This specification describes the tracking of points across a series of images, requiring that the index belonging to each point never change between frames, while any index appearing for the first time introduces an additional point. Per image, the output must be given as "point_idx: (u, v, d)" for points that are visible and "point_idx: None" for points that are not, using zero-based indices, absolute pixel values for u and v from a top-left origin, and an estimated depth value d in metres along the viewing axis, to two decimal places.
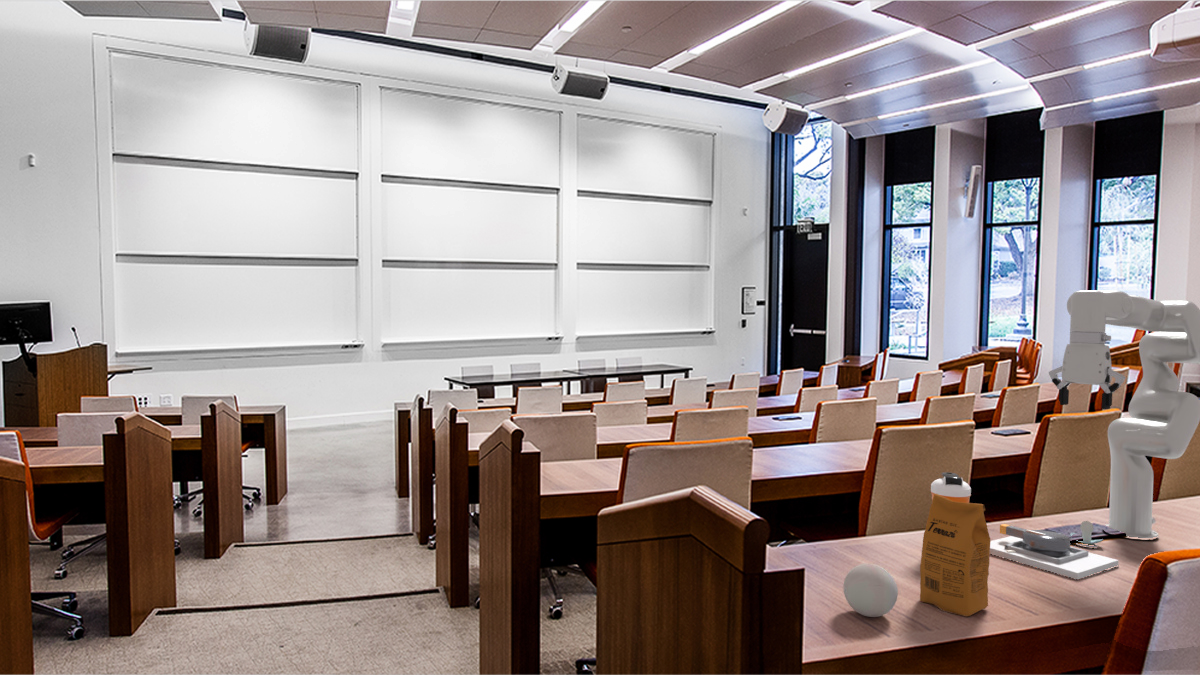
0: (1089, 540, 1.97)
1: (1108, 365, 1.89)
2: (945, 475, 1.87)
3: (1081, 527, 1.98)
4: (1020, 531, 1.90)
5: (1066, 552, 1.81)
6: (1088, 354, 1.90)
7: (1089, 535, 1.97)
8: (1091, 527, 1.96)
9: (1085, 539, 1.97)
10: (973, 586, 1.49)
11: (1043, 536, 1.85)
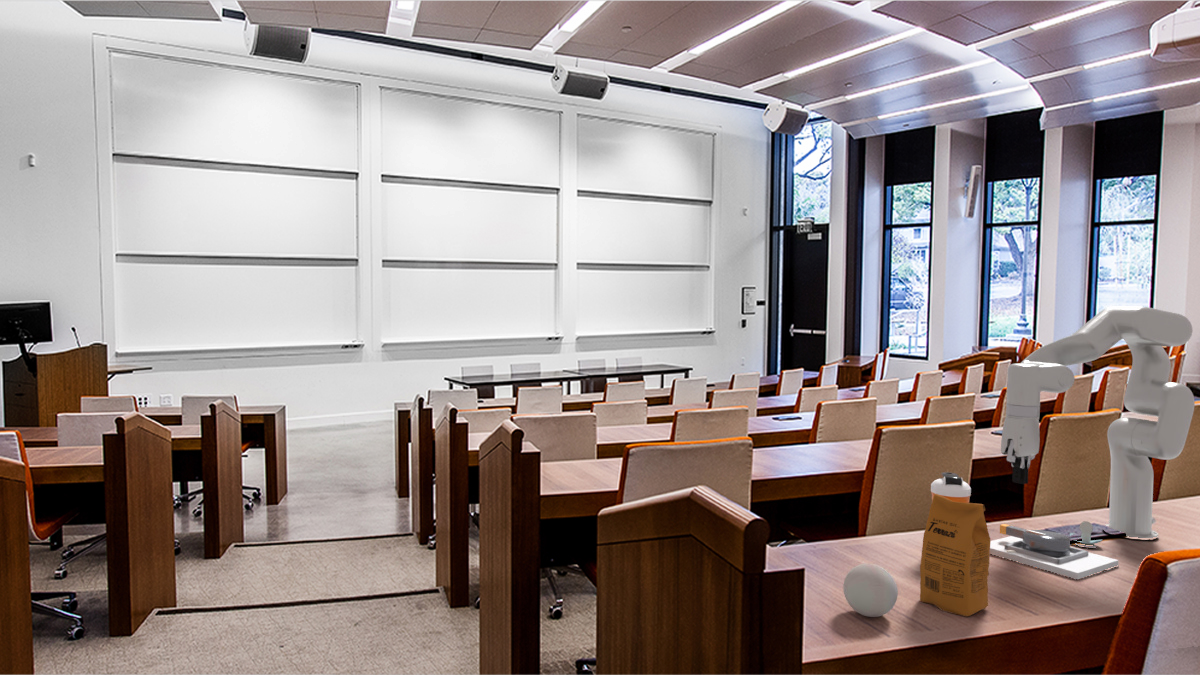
0: (1088, 540, 1.96)
1: None
2: (945, 475, 1.87)
3: (1080, 527, 1.98)
4: (1020, 531, 1.90)
5: (1066, 552, 1.81)
6: (1034, 427, 1.94)
7: (1088, 535, 1.96)
8: (1090, 527, 1.96)
9: (1084, 539, 1.97)
10: (973, 586, 1.49)
11: (1043, 536, 1.85)
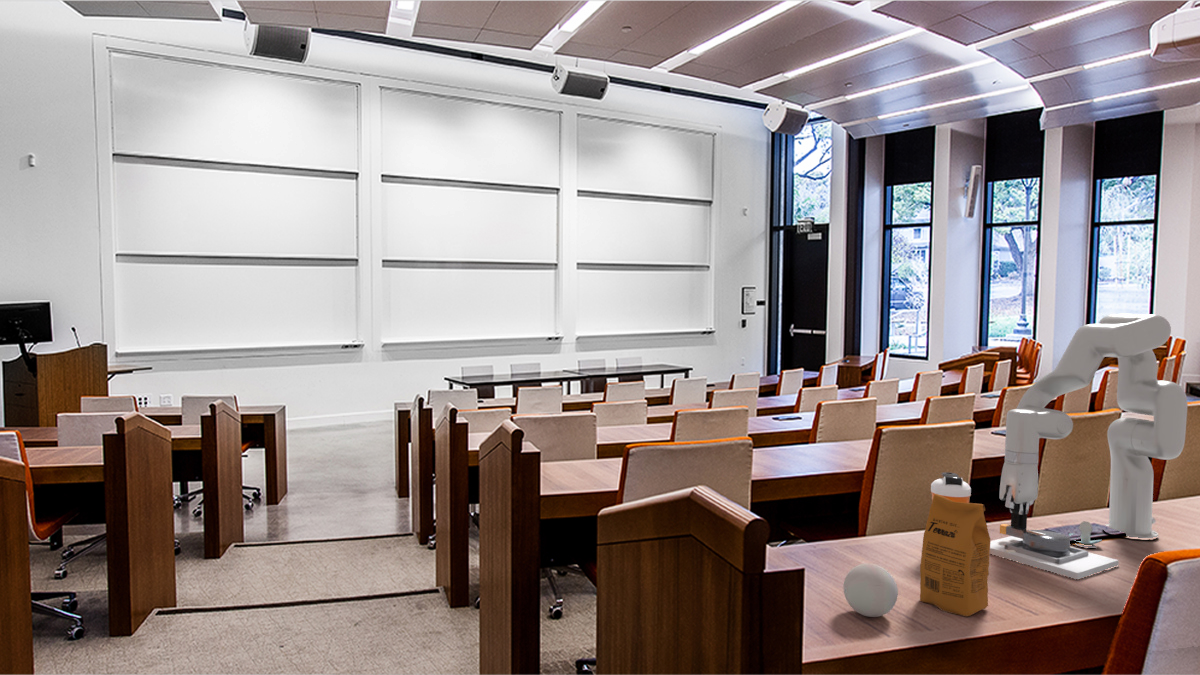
0: (1088, 540, 1.96)
1: None
2: (945, 475, 1.87)
3: (1080, 527, 1.98)
4: (1020, 531, 1.90)
5: (1066, 552, 1.81)
6: (1033, 473, 1.95)
7: (1088, 535, 1.96)
8: (1090, 527, 1.96)
9: (1084, 539, 1.97)
10: (973, 586, 1.49)
11: (1043, 536, 1.85)
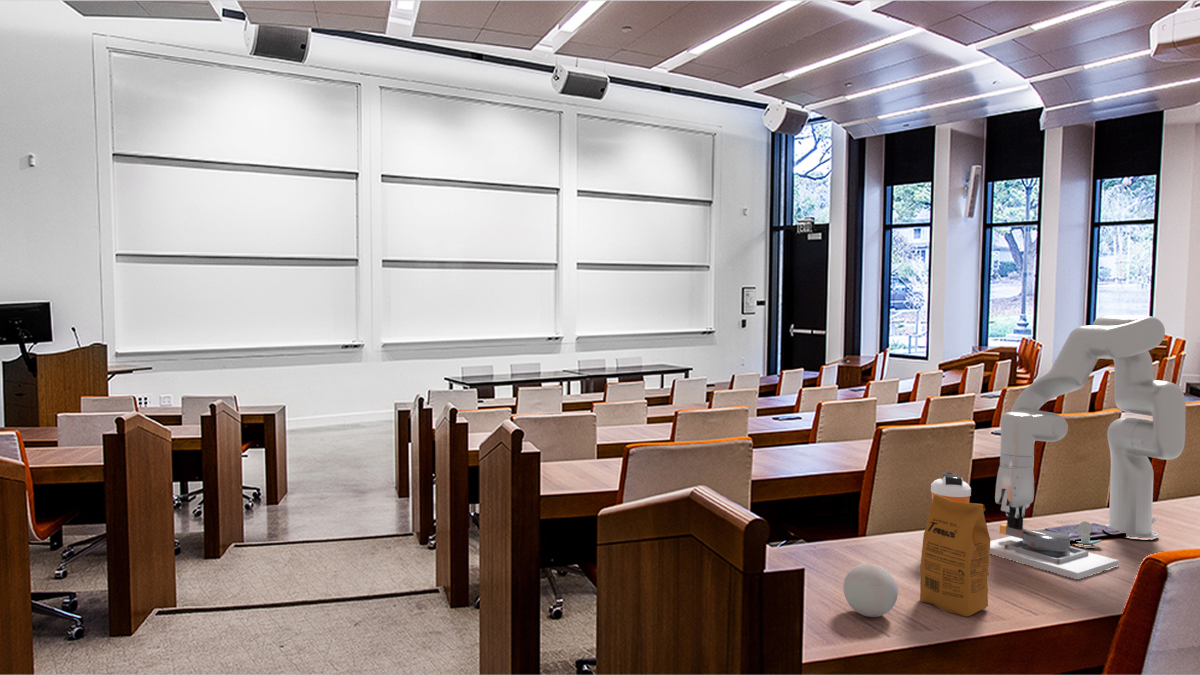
0: (1088, 541, 1.96)
1: None
2: (945, 475, 1.87)
3: (1080, 527, 1.98)
4: (1020, 531, 1.90)
5: (1066, 552, 1.81)
6: (1029, 476, 1.93)
7: (1088, 536, 1.96)
8: (1090, 527, 1.96)
9: (1084, 540, 1.97)
10: (973, 586, 1.49)
11: (1043, 536, 1.85)
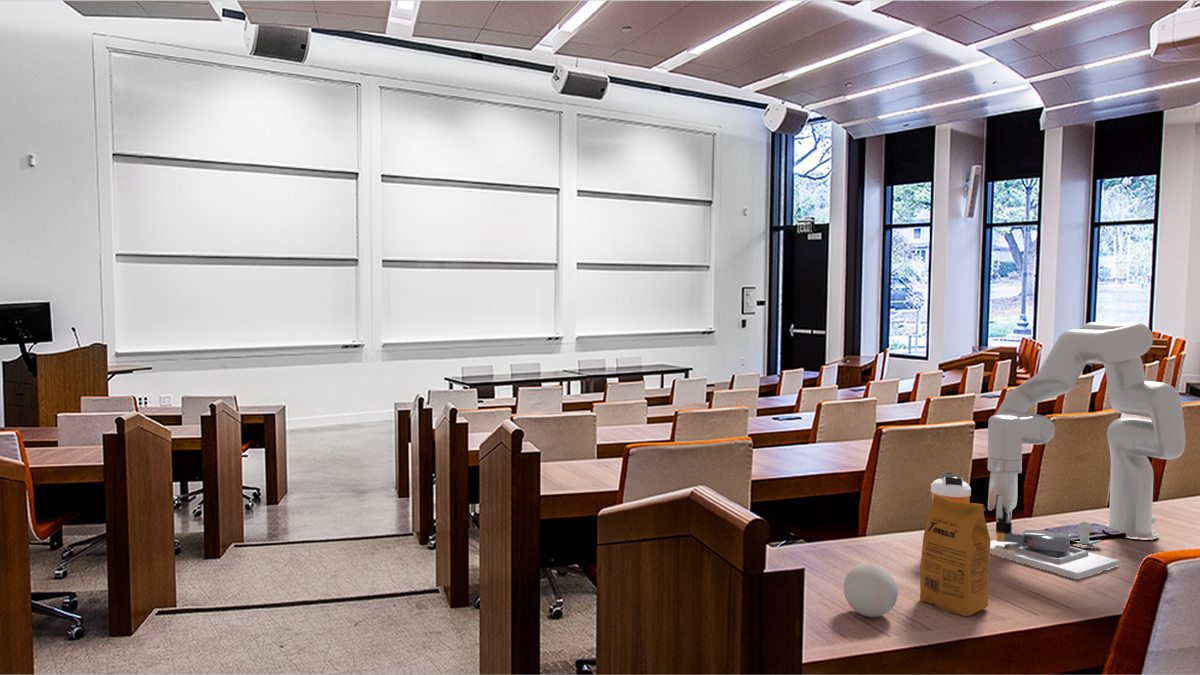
0: (1087, 541, 1.96)
1: None
2: (945, 475, 1.87)
3: (1079, 528, 1.97)
4: (1020, 536, 1.86)
5: None
6: (1016, 480, 1.90)
7: (1087, 536, 1.96)
8: (1089, 528, 1.96)
9: (1083, 540, 1.97)
10: (973, 586, 1.49)
11: (1047, 537, 1.85)
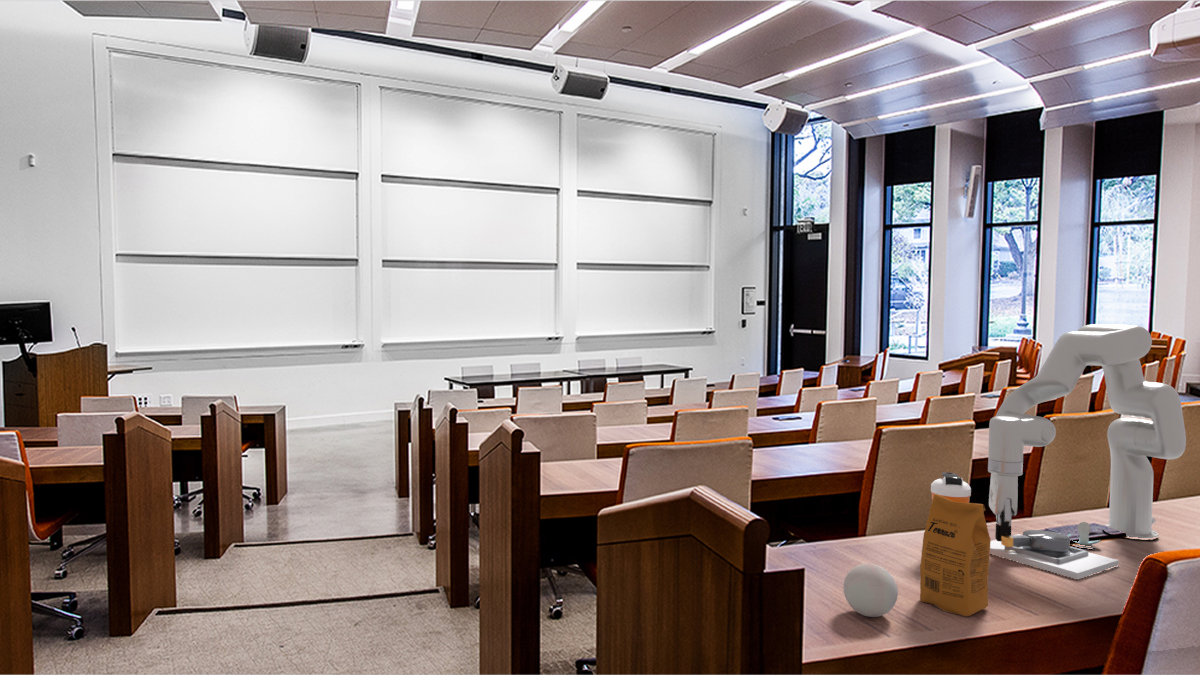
0: (1086, 541, 1.96)
1: None
2: (945, 475, 1.87)
3: (1078, 528, 1.97)
4: (1027, 538, 1.84)
5: None
6: None
7: (1086, 536, 1.96)
8: (1088, 528, 1.96)
9: (1082, 540, 1.96)
10: (973, 586, 1.49)
11: (1050, 537, 1.84)
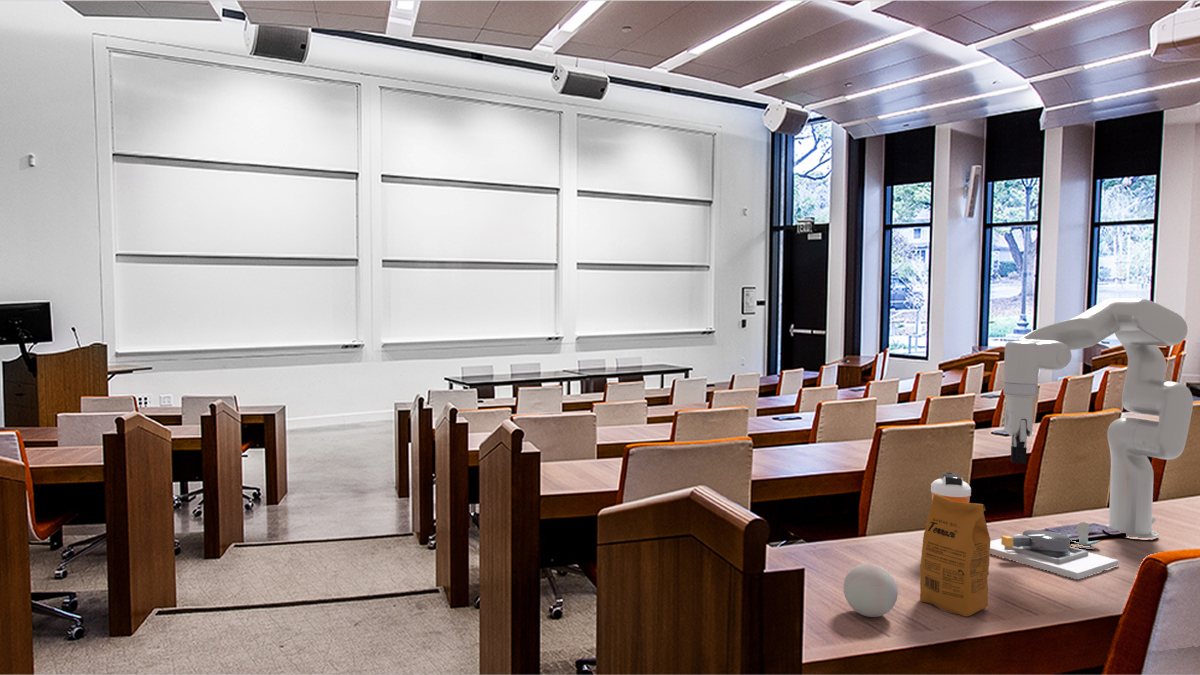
0: (1086, 541, 1.96)
1: None
2: (945, 475, 1.87)
3: (1078, 528, 1.97)
4: (1027, 538, 1.84)
5: None
6: None
7: (1086, 536, 1.96)
8: (1088, 528, 1.95)
9: (1082, 540, 1.96)
10: (973, 586, 1.49)
11: (1050, 537, 1.84)
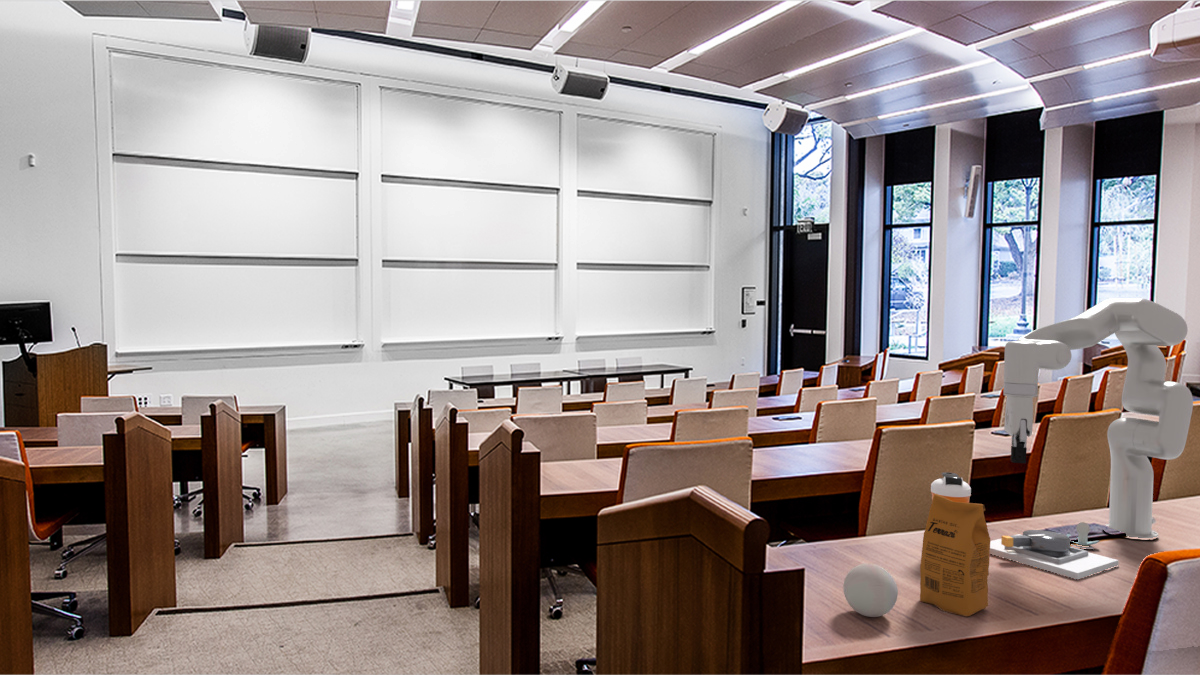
0: (1085, 541, 1.96)
1: None
2: (945, 475, 1.87)
3: (1077, 528, 1.97)
4: (1027, 538, 1.84)
5: None
6: None
7: (1085, 536, 1.95)
8: (1087, 528, 1.95)
9: (1081, 540, 1.96)
10: (973, 586, 1.49)
11: (1050, 537, 1.84)
